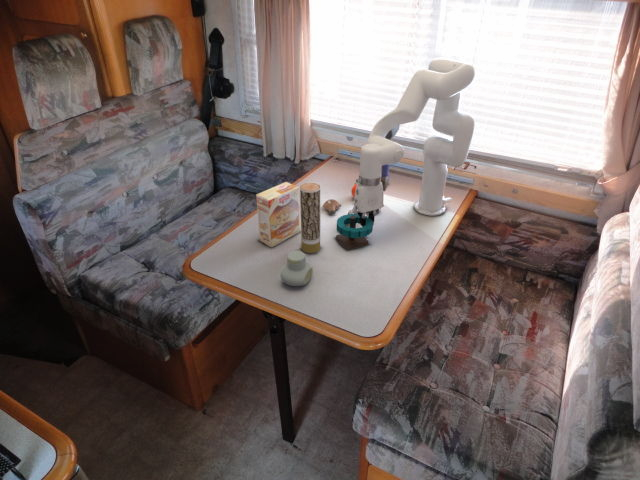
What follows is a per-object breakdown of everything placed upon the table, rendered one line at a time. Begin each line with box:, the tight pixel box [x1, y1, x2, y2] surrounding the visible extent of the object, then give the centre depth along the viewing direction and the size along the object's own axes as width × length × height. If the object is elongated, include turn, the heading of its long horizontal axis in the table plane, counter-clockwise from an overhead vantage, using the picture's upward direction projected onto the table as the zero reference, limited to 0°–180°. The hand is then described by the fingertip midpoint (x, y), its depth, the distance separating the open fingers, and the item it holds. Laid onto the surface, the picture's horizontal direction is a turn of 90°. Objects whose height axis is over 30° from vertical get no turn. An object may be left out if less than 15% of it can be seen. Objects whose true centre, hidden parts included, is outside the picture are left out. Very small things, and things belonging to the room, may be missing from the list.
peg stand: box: [335, 215, 370, 251], centre depth 164 cm, size 9×9×10 cm
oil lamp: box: [322, 198, 342, 216], centre depth 186 cm, size 9×4×8 cm
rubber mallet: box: [381, 125, 401, 183], centre depth 201 cm, size 12×8×30 cm, turn 156°
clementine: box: [350, 182, 357, 198], centre depth 195 cm, size 8×7×7 cm
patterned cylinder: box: [299, 182, 321, 254], centre depth 156 cm, size 7×7×25 cm
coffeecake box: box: [255, 181, 300, 248], centre depth 164 cm, size 15×7×20 cm, turn 137°
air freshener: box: [279, 250, 314, 287], centre depth 144 cm, size 11×8×10 cm
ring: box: [336, 213, 374, 238], centre depth 163 cm, size 13×13×3 cm
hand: (366, 224), depth 166 cm, fingers closed on ring, 2 cm apart
